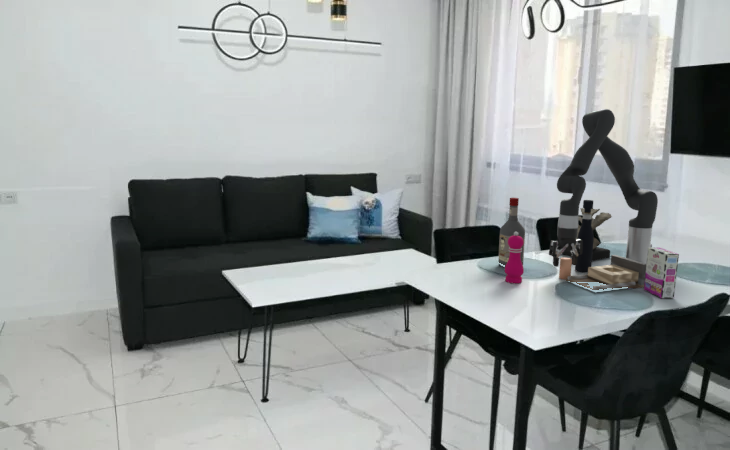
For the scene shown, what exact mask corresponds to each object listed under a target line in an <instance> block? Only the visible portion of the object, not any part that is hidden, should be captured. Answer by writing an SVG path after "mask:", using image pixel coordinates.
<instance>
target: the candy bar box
mask: <svg viewBox="0 0 730 450" xmlns="http://www.w3.org/2000/svg"><path fill="white" fill-rule="evenodd" d="M679 258H680V254H679V253H677V252H673V251H671V250H667V249H665V248H663V247H652V248H648V255H647V265H646V274H645V284H644V287H643V290H644V291H645V292H647V293H650V294H652V295H654V296H655V297H658V298H660V299H666V300H667V299H670V300H671V299H675V291H676V283H677V276H678V275H677V274H678V265H679Z"/></svg>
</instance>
